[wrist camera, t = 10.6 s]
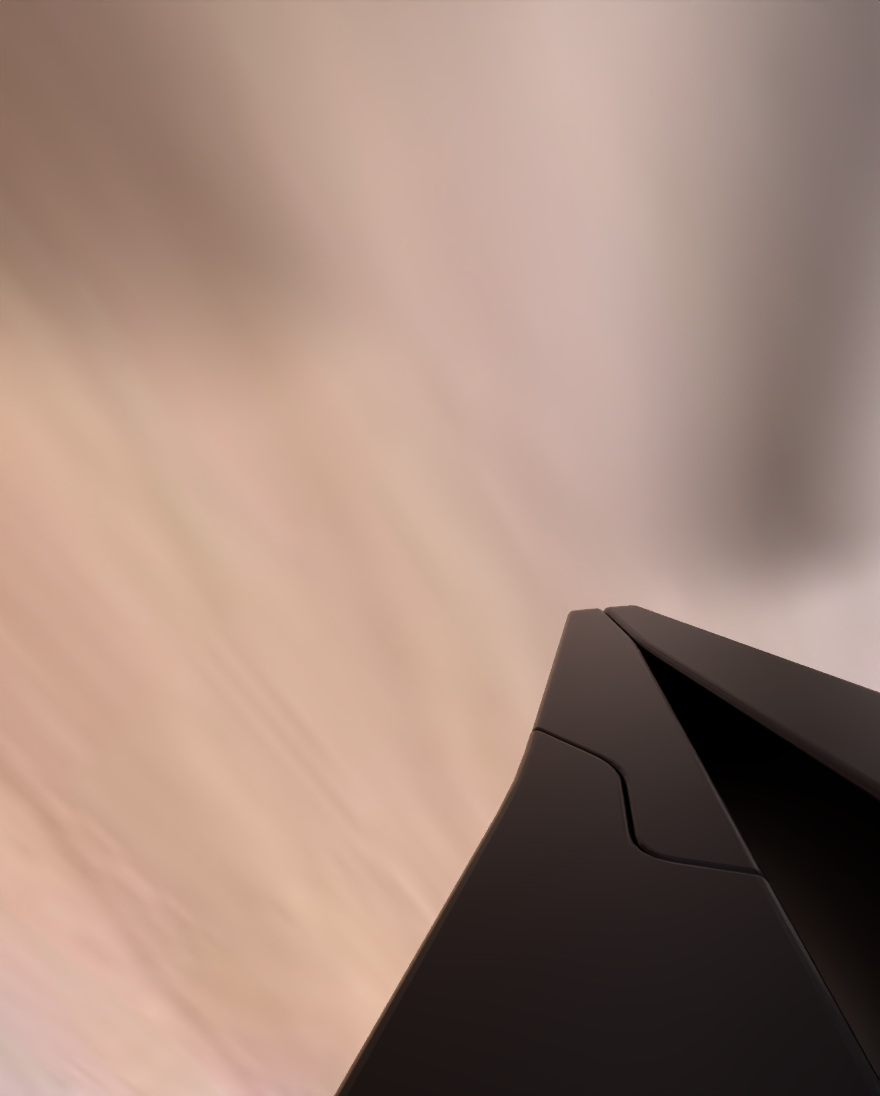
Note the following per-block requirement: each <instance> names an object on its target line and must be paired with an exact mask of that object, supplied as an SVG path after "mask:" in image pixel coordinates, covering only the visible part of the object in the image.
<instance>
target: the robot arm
mask: <svg viewBox="0 0 880 1096" xmlns="http://www.w3.org/2000/svg"><path fill="white" fill-rule="evenodd" d="M334 1096H880V693H879V692H877V691H874V690H871V689H868V688H865V687H863V686H860V685H857V684H854V683H851V682H849V681H846V680H843V679H840V678H837V677H835V676H832V675H829V674H826V673H823V672H821V671H818V670H815V669H812V668H809V667H807V666H804V665H801V664H798V663H795V662H793V661H790V660H787V659H784V658H781V657H779V656H776V655H773V654H770V653H767V652H765V651H762V650H759V649H756V648H753V647H750V646H748V645H745V644H742V643H739V642H736V641H734V640H731V639H728V638H725V637H722V636H720V635H717V634H714V633H711V632H708V631H706V630H703V629H700V628H697V627H694V626H692V625H689V624H686V623H683V622H680V621H678V620H675V619H672V618H669V617H666V616H664V615H661V614H658V613H655V612H652V611H650V610H647V609H644V608H641V607H638V606H633V605H629V606H618V607H609V608H606V609H605V610H604V611H602V610H600V609H597V608H596V609H585V610H574V611H571V612H570V613H569V614H568V617H567V620H566V623H565V627H564V630H563V633H562V636H561V640H560V643H559V646H558V649H557V652H556V656H555V659H554V662H553V665H552V669H551V672H550V675H549V678H548V682H547V685H546V688H545V691H544V694H543V698H542V701H541V704H540V707H539V711H538V714H537V717H536V720H535V723H534V727H533V730H532V733H531V734H530V737H529V740H528V743H527V746H526V750H525V753H524V755H523V758H522V760H521V763H520V766H519V768H518V771H517V773H516V776H515V779H514V781H513V783H512V785H511V787H510V789H509V791H508V793H507V795H506V797H505V799H504V801H503V803H502V805H501V807H500V809H499V810H498V812H497V814H496V816H495V818H494V820H493V821H492V823H491V825H490V826H489V828H488V830H487V832H486V833H485V835H484V837H483V839H482V840H481V842H480V844H479V846H478V847H477V849H476V851H475V852H474V854H473V856H472V858H471V859H470V861H469V863H468V865H467V866H466V868H465V870H464V872H463V873H462V875H461V877H460V879H459V880H458V882H457V884H456V885H455V887H454V889H453V891H452V892H451V894H450V896H449V898H448V899H447V901H446V903H445V905H444V906H443V908H442V910H441V911H440V913H439V915H438V917H437V918H436V920H435V922H434V924H433V925H432V927H431V929H430V931H429V932H428V934H427V936H426V938H425V939H424V941H423V943H422V944H421V946H420V948H419V950H418V951H417V953H416V955H415V957H414V958H413V960H412V962H411V964H410V965H409V967H408V969H407V970H406V972H405V974H404V976H403V977H402V979H401V981H400V983H399V984H398V986H397V988H396V990H395V991H394V993H393V995H392V996H391V998H390V1000H389V1002H388V1003H387V1005H386V1007H385V1009H384V1010H383V1012H382V1014H381V1016H380V1017H379V1019H378V1021H377V1023H376V1024H375V1026H374V1028H373V1029H372V1031H371V1033H370V1035H369V1036H368V1038H367V1040H366V1042H365V1043H364V1045H363V1047H362V1049H361V1050H360V1052H359V1054H358V1055H357V1057H356V1059H355V1061H354V1062H353V1064H352V1066H351V1068H350V1069H349V1071H348V1073H347V1075H346V1076H345V1078H344V1080H343V1081H342V1083H341V1085H340V1087H339V1088H338V1090H337V1092H336V1094H335V1095H334Z"/></svg>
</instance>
